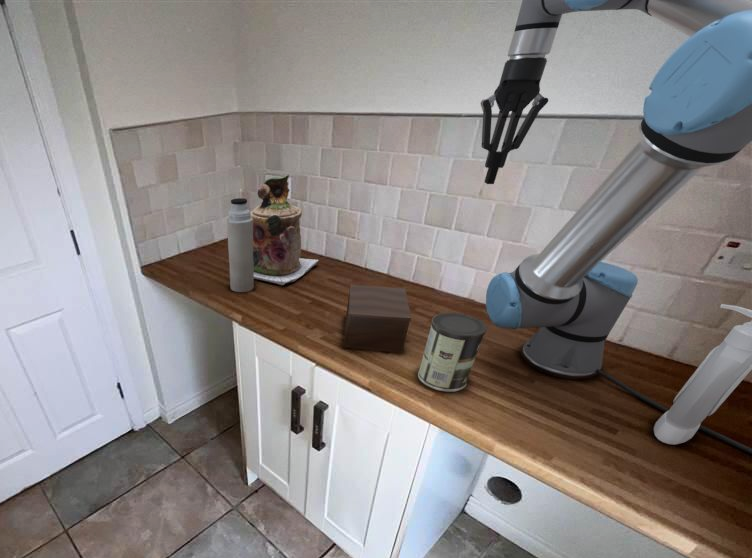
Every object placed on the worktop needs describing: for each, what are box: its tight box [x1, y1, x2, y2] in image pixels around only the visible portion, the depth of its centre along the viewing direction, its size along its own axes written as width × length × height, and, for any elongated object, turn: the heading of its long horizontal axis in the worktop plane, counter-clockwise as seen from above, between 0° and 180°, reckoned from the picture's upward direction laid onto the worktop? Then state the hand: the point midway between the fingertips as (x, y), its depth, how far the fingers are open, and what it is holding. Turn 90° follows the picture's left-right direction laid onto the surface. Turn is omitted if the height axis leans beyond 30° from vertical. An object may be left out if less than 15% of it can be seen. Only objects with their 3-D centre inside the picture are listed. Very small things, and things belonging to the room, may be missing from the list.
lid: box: [348, 284, 412, 322], centre depth 103 cm, size 18×14×1 cm
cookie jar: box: [250, 174, 319, 286], centre depth 140 cm, size 25×25×32 cm
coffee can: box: [417, 312, 488, 393], centre depth 88 cm, size 10×10×14 cm
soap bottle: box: [653, 303, 752, 445], centre depth 69 cm, size 13×8×24 cm, turn 124°
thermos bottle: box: [226, 197, 255, 293], centre depth 129 cm, size 8×8×28 cm
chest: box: [343, 290, 411, 354], centre depth 106 cm, size 17×14×9 cm
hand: (489, 182), depth 97 cm, fingers closed
